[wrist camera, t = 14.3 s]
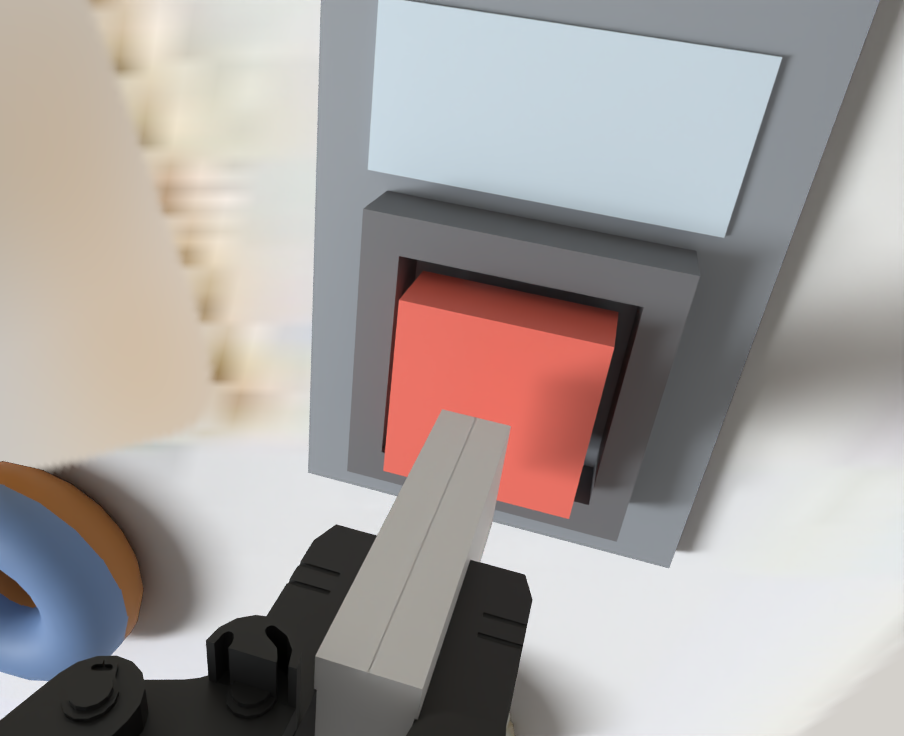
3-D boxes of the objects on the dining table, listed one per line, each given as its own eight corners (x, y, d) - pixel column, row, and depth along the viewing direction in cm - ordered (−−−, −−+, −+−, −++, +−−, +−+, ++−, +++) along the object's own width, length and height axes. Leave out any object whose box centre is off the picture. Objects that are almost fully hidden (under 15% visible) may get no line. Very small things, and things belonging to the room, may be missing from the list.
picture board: (378, -1263, 10) (297, -1623, 8) (1382, -1406, 8) (1656, -1932, 6) (317, 458, 25) (284, 505, 23) (668, 550, 23) (670, 611, 21)
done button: (423, 270, 18) (398, 300, 17) (618, 311, 18) (614, 347, 16) (405, 430, 21) (383, 470, 19) (576, 473, 20) (568, 519, 18)
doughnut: (-46, 584, 34) (-130, 662, 30) (-59, 409, 29) (-160, 474, 25) (156, 647, 34) (101, 734, 30) (176, 483, 29) (113, 560, 25)
